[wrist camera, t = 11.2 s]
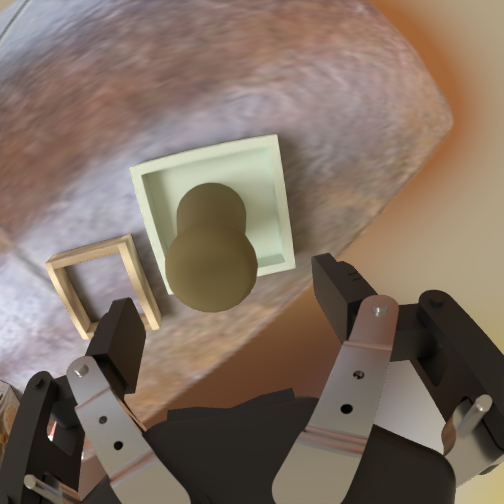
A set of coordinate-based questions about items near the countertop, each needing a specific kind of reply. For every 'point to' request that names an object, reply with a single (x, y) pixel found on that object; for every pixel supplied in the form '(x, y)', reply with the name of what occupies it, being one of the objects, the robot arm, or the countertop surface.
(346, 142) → the countertop surface
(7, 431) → the coffee box
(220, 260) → the olive brown pawn
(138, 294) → the light wood square frame
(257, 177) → the tray
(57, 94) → the countertop surface
